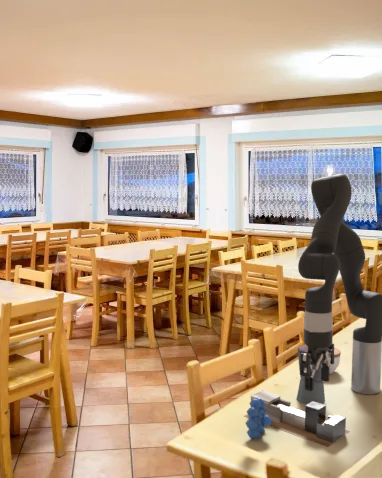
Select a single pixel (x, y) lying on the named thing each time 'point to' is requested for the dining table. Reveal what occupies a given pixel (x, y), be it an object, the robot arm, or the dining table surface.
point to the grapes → (257, 418)
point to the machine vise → (275, 416)
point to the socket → (332, 428)
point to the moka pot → (318, 391)
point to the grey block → (304, 416)
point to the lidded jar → (335, 360)
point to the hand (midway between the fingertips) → (317, 385)
